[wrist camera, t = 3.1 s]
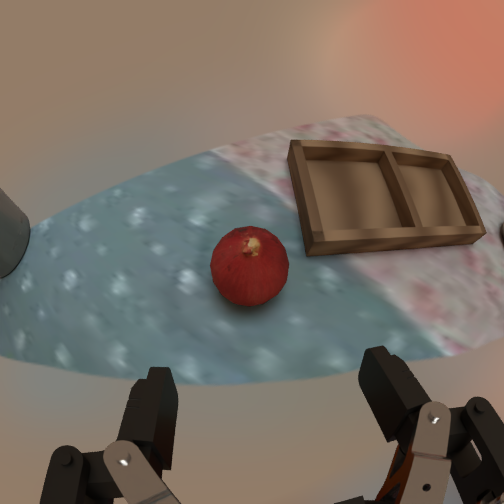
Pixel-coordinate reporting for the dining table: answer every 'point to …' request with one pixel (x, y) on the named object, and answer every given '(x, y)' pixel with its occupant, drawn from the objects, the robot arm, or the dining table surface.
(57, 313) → the dining table surface
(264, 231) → the pomegranate
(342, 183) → the walnut tray
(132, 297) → the dining table surface
